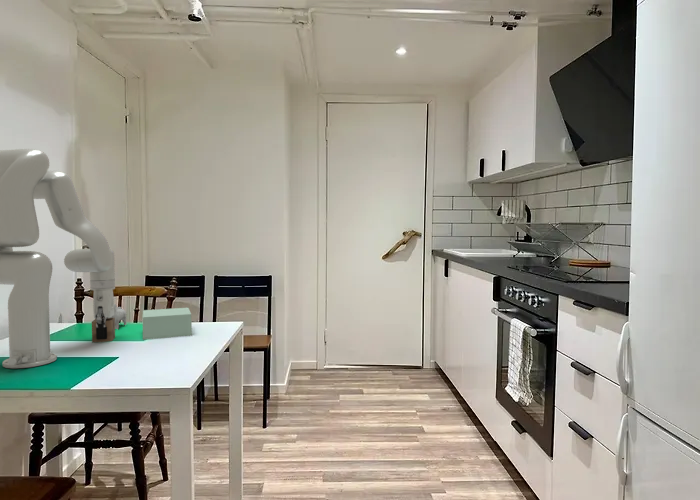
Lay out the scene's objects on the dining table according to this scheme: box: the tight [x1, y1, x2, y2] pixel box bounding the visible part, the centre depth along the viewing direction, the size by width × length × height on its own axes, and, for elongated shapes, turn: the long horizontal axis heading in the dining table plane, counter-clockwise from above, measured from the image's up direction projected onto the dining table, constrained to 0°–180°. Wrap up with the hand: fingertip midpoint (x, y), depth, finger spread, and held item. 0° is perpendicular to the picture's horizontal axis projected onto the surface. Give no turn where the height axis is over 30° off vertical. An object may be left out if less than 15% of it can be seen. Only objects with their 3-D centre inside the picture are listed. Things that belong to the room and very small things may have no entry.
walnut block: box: [91, 318, 116, 343], centre depth 157 cm, size 6×6×7 cm
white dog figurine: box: [111, 303, 128, 330], centre depth 177 cm, size 5×13×11 cm, turn 2°
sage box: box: [142, 307, 193, 341], centre depth 168 cm, size 16×16×8 cm
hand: (103, 336), depth 158 cm, fingers closed on walnut block, 6 cm apart
